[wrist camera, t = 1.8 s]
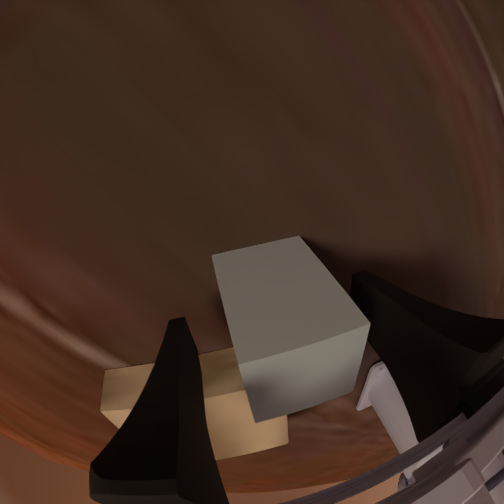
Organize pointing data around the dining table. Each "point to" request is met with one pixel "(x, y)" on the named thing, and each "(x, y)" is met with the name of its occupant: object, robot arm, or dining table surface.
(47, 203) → the dining table surface
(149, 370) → the maple pedestal
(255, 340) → the gray block
